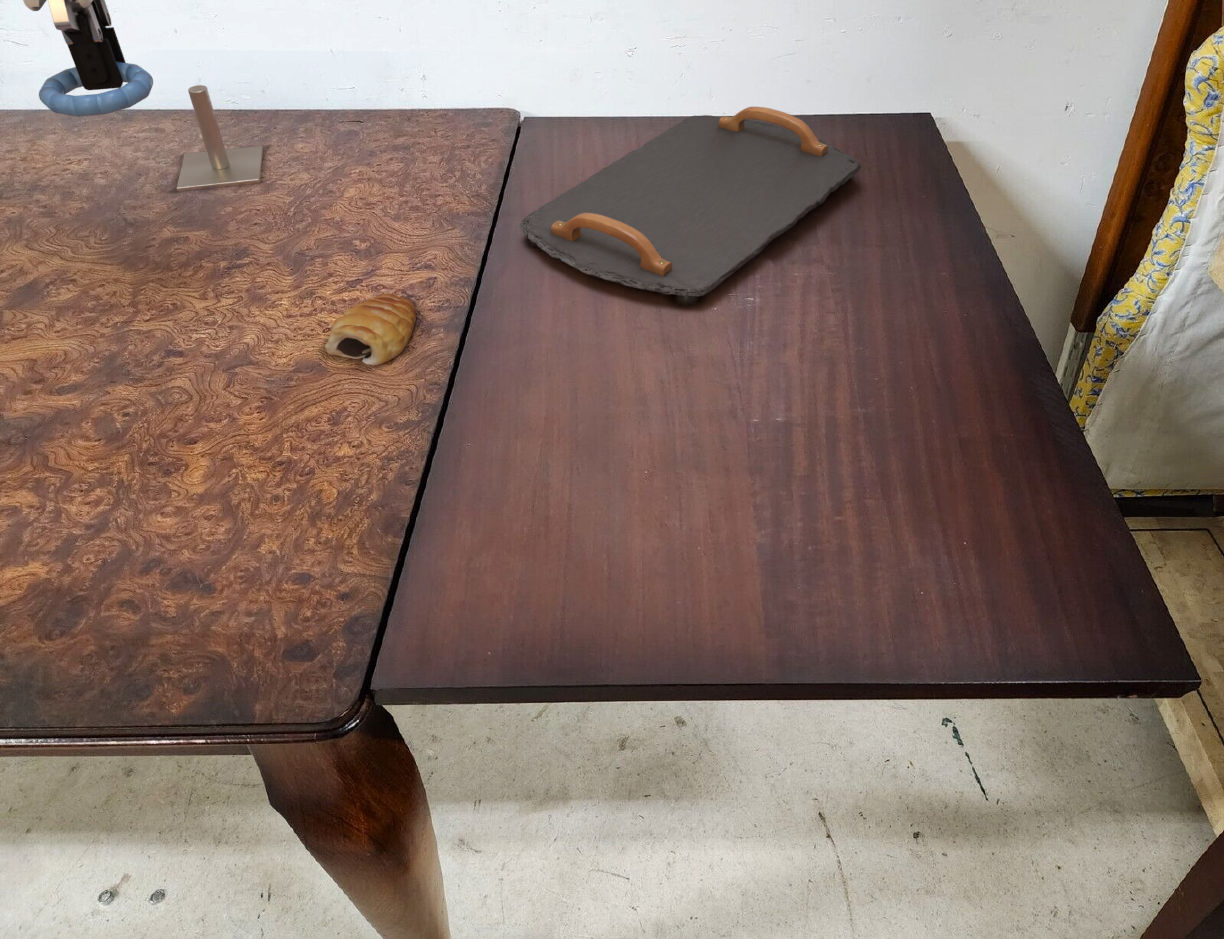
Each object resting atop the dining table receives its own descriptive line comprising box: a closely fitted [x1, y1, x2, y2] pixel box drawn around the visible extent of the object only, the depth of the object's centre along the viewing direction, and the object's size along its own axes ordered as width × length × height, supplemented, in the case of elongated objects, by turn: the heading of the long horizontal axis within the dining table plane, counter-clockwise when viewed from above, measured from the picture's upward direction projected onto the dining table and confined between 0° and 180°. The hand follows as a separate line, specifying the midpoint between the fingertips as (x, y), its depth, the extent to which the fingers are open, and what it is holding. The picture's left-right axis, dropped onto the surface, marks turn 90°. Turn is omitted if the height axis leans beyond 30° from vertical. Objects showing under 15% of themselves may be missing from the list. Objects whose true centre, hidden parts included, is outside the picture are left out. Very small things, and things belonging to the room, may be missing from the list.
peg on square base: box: [176, 84, 264, 193], centre depth 110 cm, size 9×9×10 cm
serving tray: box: [519, 106, 862, 307], centre depth 104 cm, size 39×23×6 cm, turn 143°
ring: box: [38, 62, 154, 118], centre depth 83 cm, size 9×9×2 cm
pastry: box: [324, 293, 417, 366], centre depth 88 cm, size 9×7×4 cm
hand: (106, 80), depth 86 cm, fingers closed on ring, 2 cm apart
